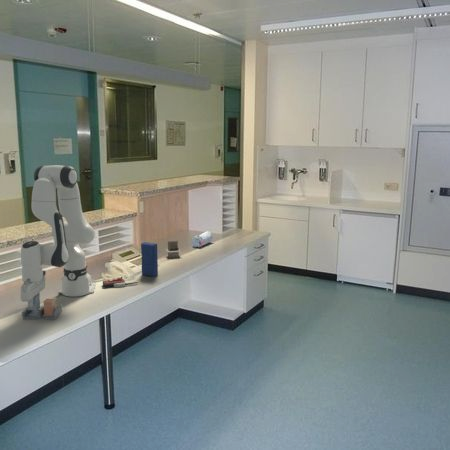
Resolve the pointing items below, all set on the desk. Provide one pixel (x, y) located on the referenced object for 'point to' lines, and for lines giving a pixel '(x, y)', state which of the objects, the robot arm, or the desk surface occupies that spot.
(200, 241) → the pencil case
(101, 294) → the desk surface
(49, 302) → the terracotta plug
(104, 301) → the desk surface
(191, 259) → the desk surface
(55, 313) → the slot dock
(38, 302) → the slate-blue plug
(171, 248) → the architectural model
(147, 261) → the blue rectangular block
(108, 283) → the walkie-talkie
